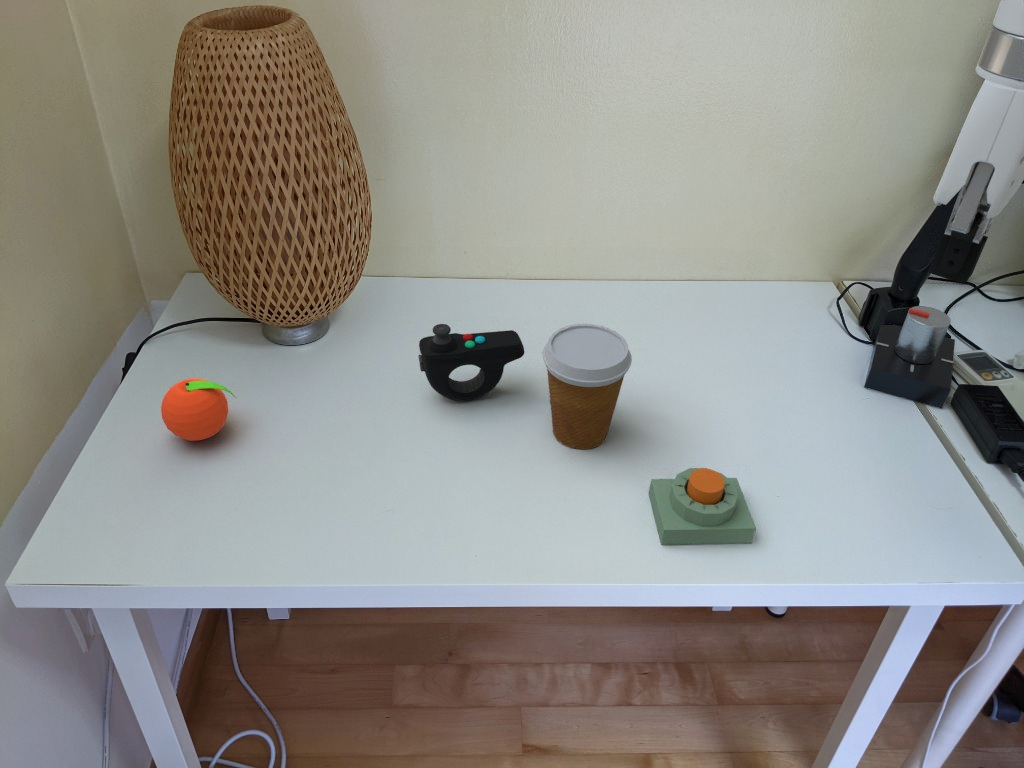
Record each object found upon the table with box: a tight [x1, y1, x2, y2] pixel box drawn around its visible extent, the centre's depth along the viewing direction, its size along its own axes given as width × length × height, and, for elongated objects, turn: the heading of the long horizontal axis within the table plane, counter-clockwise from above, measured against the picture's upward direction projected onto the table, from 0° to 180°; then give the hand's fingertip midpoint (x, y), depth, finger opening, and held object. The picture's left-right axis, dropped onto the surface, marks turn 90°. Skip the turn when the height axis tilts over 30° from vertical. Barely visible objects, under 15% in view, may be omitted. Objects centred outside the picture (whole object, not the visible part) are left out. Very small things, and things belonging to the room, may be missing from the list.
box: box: [648, 467, 757, 546], centre depth 78 cm, size 9×7×4 cm
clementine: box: [160, 377, 237, 442], centre depth 86 cm, size 8×7×7 cm
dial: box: [894, 305, 952, 364], centre depth 96 cm, size 5×5×6 cm
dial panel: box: [863, 324, 956, 410], centre depth 98 cm, size 12×9×3 cm
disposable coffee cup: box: [542, 323, 633, 450], centre depth 86 cm, size 10×10×12 cm
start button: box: [687, 467, 725, 505], centre depth 76 cm, size 3×3×2 cm
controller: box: [418, 323, 525, 401], centre depth 91 cm, size 4×12×10 cm, turn 102°
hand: (949, 274), depth 69 cm, fingers closed
